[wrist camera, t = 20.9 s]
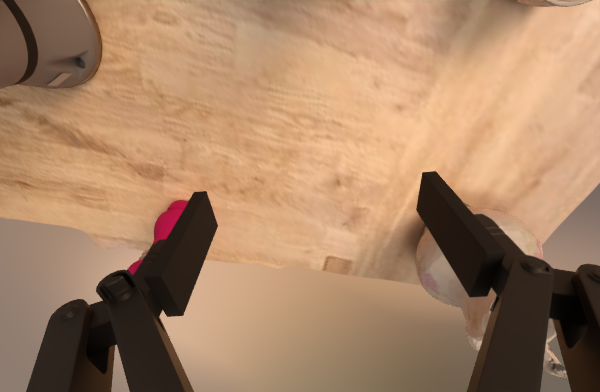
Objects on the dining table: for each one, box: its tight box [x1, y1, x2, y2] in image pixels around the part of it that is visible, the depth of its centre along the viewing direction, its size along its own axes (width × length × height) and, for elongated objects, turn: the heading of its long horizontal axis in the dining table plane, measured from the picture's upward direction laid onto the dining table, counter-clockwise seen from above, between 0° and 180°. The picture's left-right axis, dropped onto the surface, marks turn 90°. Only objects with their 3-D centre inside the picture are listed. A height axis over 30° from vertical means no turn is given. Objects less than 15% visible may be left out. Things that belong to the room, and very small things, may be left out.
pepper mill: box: [127, 200, 189, 275], centre depth 45 cm, size 7×7×20 cm
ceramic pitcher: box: [416, 203, 568, 379], centre depth 46 cm, size 22×20×25 cm
